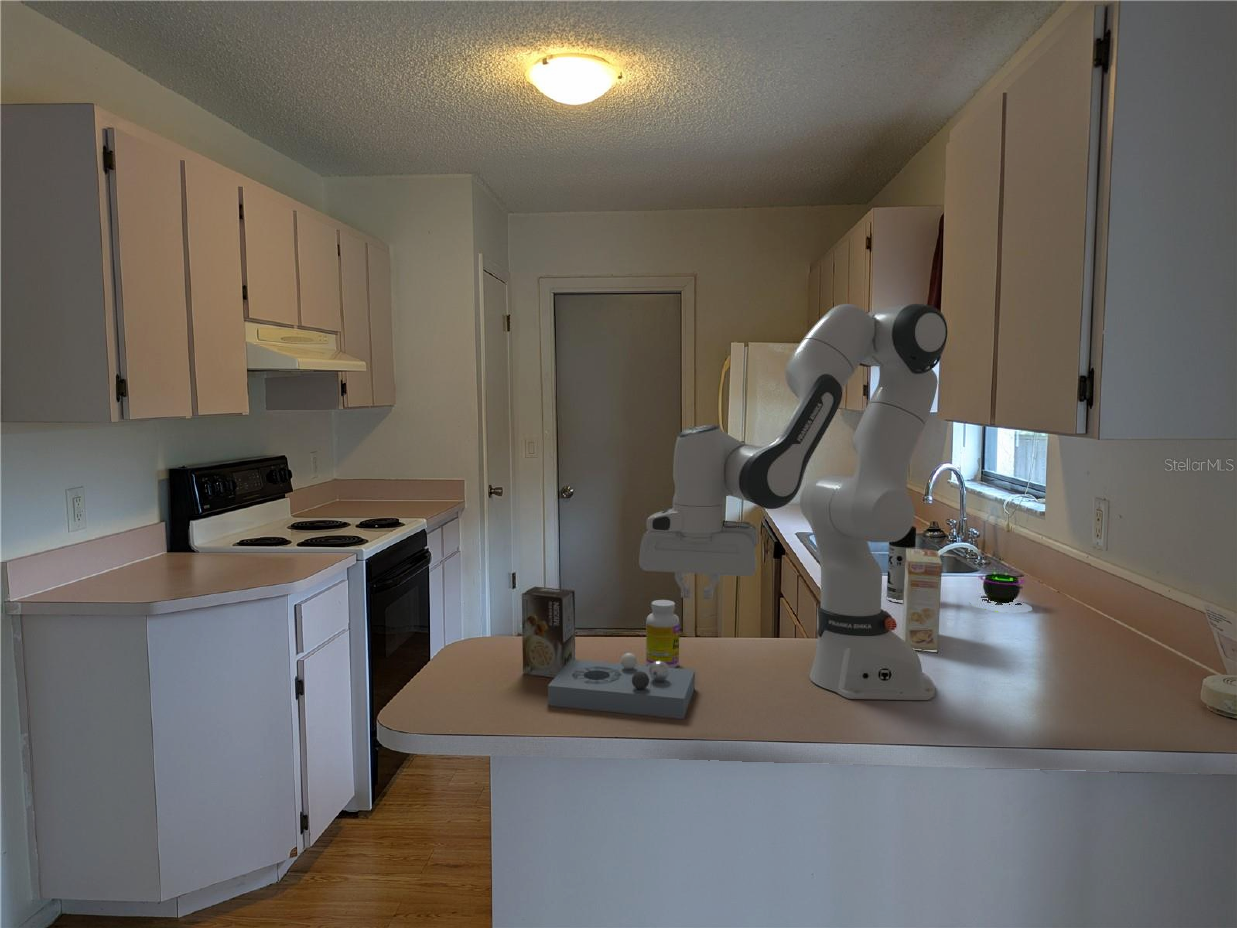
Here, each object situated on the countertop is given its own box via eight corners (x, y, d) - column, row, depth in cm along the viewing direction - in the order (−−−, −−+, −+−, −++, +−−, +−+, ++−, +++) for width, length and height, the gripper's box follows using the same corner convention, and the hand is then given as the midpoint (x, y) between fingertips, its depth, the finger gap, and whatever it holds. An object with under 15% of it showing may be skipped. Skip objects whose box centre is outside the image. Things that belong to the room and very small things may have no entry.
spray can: (884, 596, 211) (886, 523, 209) (910, 597, 210) (913, 524, 208) (889, 603, 204) (892, 528, 203) (916, 604, 204) (919, 528, 202)
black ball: (650, 686, 136) (650, 669, 136) (647, 692, 133) (647, 675, 133) (633, 684, 137) (633, 668, 136) (630, 691, 134) (630, 674, 134)
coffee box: (577, 669, 155) (577, 589, 153) (563, 680, 149) (563, 597, 147) (535, 663, 158) (535, 585, 156) (520, 673, 152) (520, 593, 150)
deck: (694, 688, 145) (694, 669, 144) (683, 719, 131) (684, 698, 131) (570, 677, 150) (570, 659, 150) (547, 705, 136) (547, 685, 136)
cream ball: (638, 666, 146) (638, 651, 145) (635, 672, 143) (635, 656, 143) (622, 665, 146) (622, 649, 146) (619, 670, 143) (619, 655, 143)
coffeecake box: (938, 653, 165) (943, 563, 163) (903, 649, 167) (906, 560, 166) (934, 633, 179) (938, 549, 177) (901, 629, 182) (905, 547, 180)
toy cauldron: (1046, 611, 198) (1049, 569, 197) (996, 615, 194) (998, 572, 193) (1004, 596, 212) (1006, 557, 211) (956, 599, 209) (958, 559, 208)
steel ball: (670, 677, 140) (670, 658, 140) (667, 685, 137) (667, 665, 136) (651, 676, 141) (651, 656, 141) (647, 683, 137) (647, 663, 137)
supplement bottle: (676, 672, 153) (677, 608, 152) (643, 669, 154) (643, 606, 153) (680, 660, 160) (681, 599, 159) (648, 658, 161) (649, 597, 160)
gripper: (760, 519, 135) (758, 597, 137) (644, 514, 140) (643, 589, 141) (758, 525, 129) (756, 606, 130) (637, 519, 134) (636, 598, 135)
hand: (696, 597), depth 136 cm, fingers open, 3 cm apart
